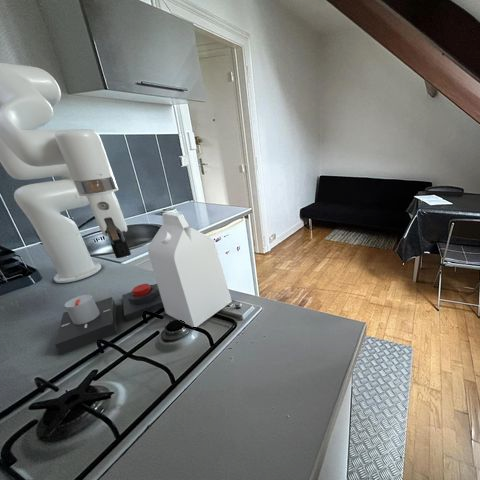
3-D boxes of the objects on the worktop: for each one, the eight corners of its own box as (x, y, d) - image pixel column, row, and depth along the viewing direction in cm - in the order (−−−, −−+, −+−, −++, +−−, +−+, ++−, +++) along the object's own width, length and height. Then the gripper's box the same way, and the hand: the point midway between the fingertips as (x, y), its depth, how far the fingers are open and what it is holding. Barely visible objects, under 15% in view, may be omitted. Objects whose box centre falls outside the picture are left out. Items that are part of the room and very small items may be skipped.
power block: (124, 299, 75) (120, 289, 73) (163, 286, 80) (159, 276, 79) (126, 321, 66) (121, 309, 64) (170, 304, 71) (166, 293, 70)
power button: (134, 292, 72) (131, 287, 71) (150, 287, 74) (148, 282, 74) (135, 299, 69) (132, 293, 68) (152, 293, 71) (150, 287, 71)
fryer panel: (68, 322, 67) (63, 312, 65) (116, 305, 72) (111, 296, 71) (61, 355, 56) (54, 344, 55) (117, 333, 62) (112, 322, 60)
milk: (232, 301, 71) (210, 209, 61) (194, 328, 62) (162, 225, 52) (203, 290, 77) (180, 205, 67) (165, 313, 68) (131, 218, 57)
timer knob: (74, 316, 64) (65, 298, 62) (100, 308, 66) (92, 290, 64) (72, 327, 60) (62, 309, 58) (99, 318, 62) (90, 300, 60)
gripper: (117, 188, 58) (143, 261, 65) (115, 180, 69) (137, 243, 76) (73, 194, 54) (106, 271, 61) (78, 184, 65) (106, 250, 72)
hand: (123, 255), depth 68 cm, fingers closed
